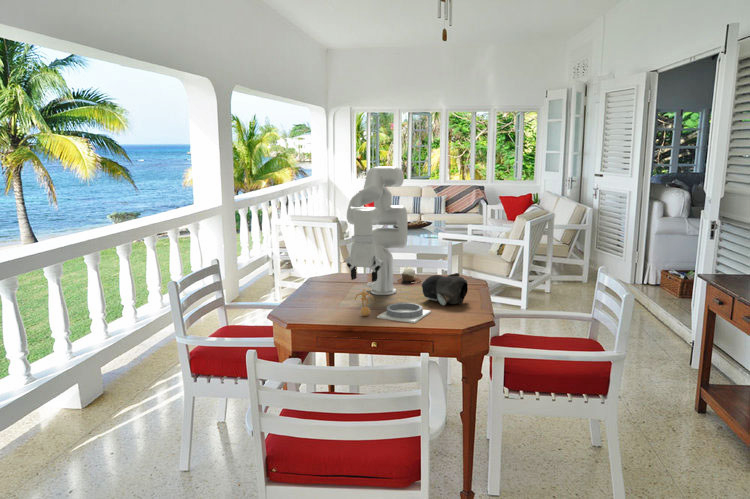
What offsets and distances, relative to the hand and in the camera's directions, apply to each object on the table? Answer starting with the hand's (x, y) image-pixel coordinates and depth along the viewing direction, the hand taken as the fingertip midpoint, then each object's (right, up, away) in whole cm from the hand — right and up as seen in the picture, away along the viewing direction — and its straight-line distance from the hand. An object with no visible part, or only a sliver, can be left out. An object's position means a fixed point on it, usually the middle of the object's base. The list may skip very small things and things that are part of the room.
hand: (364, 280), depth 236 cm
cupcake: (+23, -5, +66) cm, 70 cm away
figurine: (0, -16, +3) cm, 16 cm away
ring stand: (+17, -15, +4) cm, 23 cm away
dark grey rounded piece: (+37, -11, +24) cm, 45 cm away
